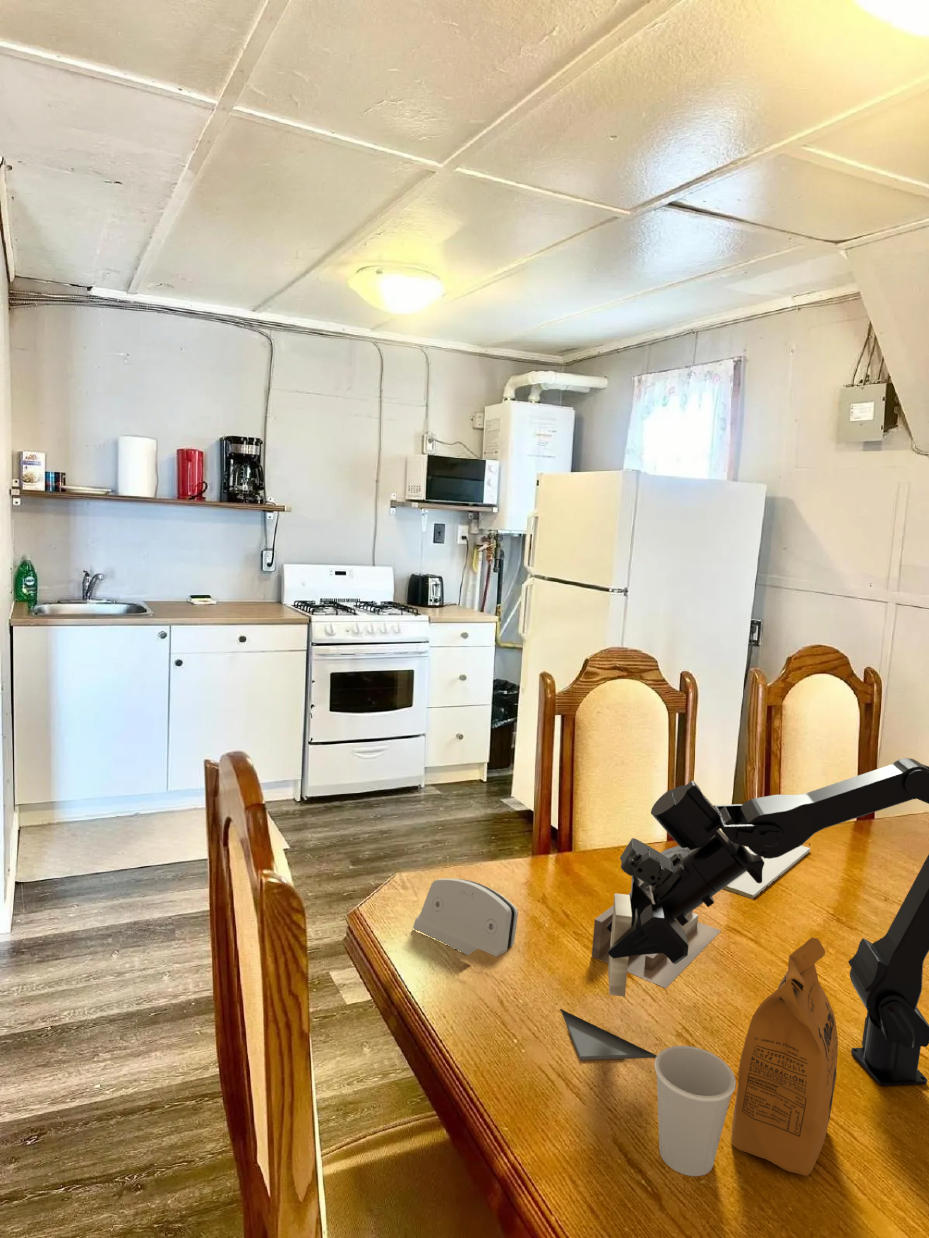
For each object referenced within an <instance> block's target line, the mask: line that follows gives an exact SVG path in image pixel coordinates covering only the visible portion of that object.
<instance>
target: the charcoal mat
mask: <svg viewBox="0 0 929 1238" xmlns="http://www.w3.org/2000/svg"><path fill="white" fill-rule="evenodd" d="M560 1012H561V1014H562V1017H563V1019H564V1022H565V1025H566V1028H567V1029H568V1033H569V1034H570V1037H571V1040H572V1043H573V1045H574V1047H575V1050H576V1053H577V1055H578V1057H579V1059H580V1061H586V1060H587V1061H588V1060H589V1061H591V1060H594V1061H595V1060H619V1059H620V1060H622V1059H646V1058H651V1059H652V1058H653V1059H654V1058H656V1057H657V1055H658V1054H655V1053H652V1052H650V1051H649V1050H647V1049H645V1048H642V1047H641V1046H638V1045H636V1044H634V1043H632V1042H630V1041H627V1040H625V1039H623V1038H622V1037H619V1036H617V1035H615V1034H613V1033H611V1032H609V1031H607V1030H605V1029H604V1028H601V1027H599V1026H597V1025H595V1024H593V1023H591V1022H590V1021H589V1022H588V1021H587V1020H584V1019H583V1018H581V1017H578V1016H576V1015H574V1014H572V1013H570V1012H568V1011H566V1010H564V1009H562V1008H560Z"/></svg>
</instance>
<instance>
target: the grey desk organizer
mask: <svg viewBox="0 0 929 1238" xmlns="http://www.w3.org/2000/svg"><path fill="white" fill-rule="evenodd" d="M630 893H631V891H630V892H629V893H628V894H627V895H630ZM613 906H614V904H613V905H611V906H610V907H609V908H608V909H606V910H605V911H604V912H603V913H601V914H600V915H599V916H596V918H594V921H593V922H594V924H593V925H594V926H593V934H592V935H593V936H592V937H593V938H592V947H591V958H594V959H595V960H598V961H600V962H603V963H605V964H608V965H609V954H608V950H609V949H610V942H611V933H610V931H609V930H608V929H607V925H608V924H609V922H610V921H611V920H612V918H613ZM721 932H722V930H721V929H719V928H715V927H712V926H711V925H708V924H704V923H702V922H699V921H698V924H697V928H696V929H695V930H694V931H693V932H692V933H691V934H690V935H689V936H688V937H687V941H688V956H686V957H685V958H684V959H682V960H681V961H680V962H678V963H677V964H673V963H672V962H671V961H670V959H669V958H668V957H667V956H666V955H664V954H663V953H662V954H645V955H636V956H629V957H628V969H627V974H628V973H629V974H631V975H633V976H635V977H639V978H641V979H642V980H645V981H648V982H650V983H652V984H654V985H657V986H659V987H660V988H663V989H667V988H668V987H669V986H670V985H671V984H672V983H673V982H674V981H675V980H676V979H677V977H679V975H681V973H683V972H684V971H685V969H686V968H687V967H688V966H689V965H690V964H691V963H692V961H694V960H695V959H696V958H697V957H698V956H699V955H700V953H701V952H702V951H704V949H705V948H707V947H708V945H710V943H711V942H712V941H714V939H715V938H717V936H718V935H719V934H720V933H721Z"/></svg>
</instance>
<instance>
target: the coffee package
mask: <svg viewBox="0 0 929 1238" xmlns="http://www.w3.org/2000/svg"><path fill="white" fill-rule="evenodd" d="M825 954H826V949H825V948H824V946H823V944H822V943H821V940H820V939H819V938H817V937H811V938H809V939H808V940H807V941H806V942H805V943H803V944H802V945H801V946H800V947H798V948H797V949H795V950H794V951H793V952H792V953H790V954H789V955H788V961H787V962H788V963H787V964H788V965H787V970H786V972H785V974H784V976H783V977H782V979H781V981H780V983H778V984H779V985H778V987H777V989H776V990H775V991H774V992H772V993H771V994H770V995H769V996H767V997H766V998H765V999H763V1001H762V1002H760V1004H759V1006H758V1007H757V1009H756V1010H755V1011H754V1013H753V1015H752V1017H751V1020H750V1023H749V1026H748V1030H747V1034H746V1036H745V1040H744V1044H743V1048H742V1052H741V1055H740V1061H739V1066H738V1082H737V1084H738V1085H737V1090H736V1096H735V1103H734V1110H733V1118H732V1125H731V1144H732V1145H733V1147H735V1148H736V1149H737V1150H739V1151H741V1152H745V1153H748V1154H749V1155H752V1156H754V1157H758V1158H761V1159H765V1160H767V1161H769V1162H770V1163H773V1164H774V1165H776V1166H778V1167H779V1168H781V1169H783V1170H785V1171H786V1172H790V1173H796V1174H798V1175H802V1176H804V1177H805V1176H806V1177H807V1176H808V1175H810V1174H811V1172H813V1169H814V1166H815V1165H816V1163H817V1161H818V1158H819V1156H820V1153H821V1151H822V1148H823V1146H824V1144H825V1140H826V1136H827V1132H828V1128H829V1123H830V1119H831V1111H832V1108H833V1107H832V1106H833V1100H834V1099H833V1098H834V1092H835V1088H836V1087H835V1086H836V1081H837V1069H838V1067H837V1066H838V1065H837V1064H838V1052H839V1051H838V1047H839V1043H838V1042H839V1040H838V1039H839V1038H838V1037H839V1036H838V1031H837V1030H838V1029H837V1023H836V1016H835V1013H834V1010H833V1007H832V1005H831V1003H830V1001H829V998H828V996H827V994H826V993H825V991H824V989H823V987H822V985H821V984H820V982H819V977H818V972H817V968H816V963H817V962H818V961H820V960H821V959H822V958H823V957H824V955H825Z"/></svg>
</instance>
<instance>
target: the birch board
mask: <svg viewBox="0 0 929 1238" xmlns="http://www.w3.org/2000/svg"><path fill="white" fill-rule="evenodd" d="M613 896H614V898H613V905H614V906H613V905H612V906H613V918H612V930H611V942H610V948H611V947H612V945H613V944H614V943H615V942H616V941H617V940H618V939H619V938H620V937H621V936H622V935H623V934H624V933H626V932H627V931H628V930H629V929H630V928H631V922H632V912H631V903H630V895H628V894H626V893H625V894H624V893H623V894H622V893H614V895H613ZM628 957H629V956H628ZM628 957H621V958H612V957H611V956H610V955H609V964H608V966H607V967H608V968H607V969H608V971H607V972H608V974H607V975H608V995H609V996H615V997H622V998H623V997H624V998H626V991H627V981H628V979H627V978H628V972H627V969H628Z"/></svg>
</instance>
